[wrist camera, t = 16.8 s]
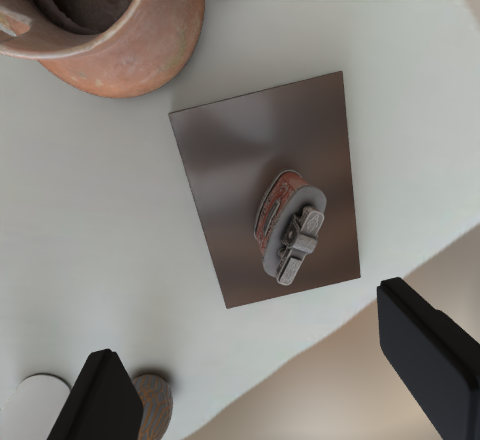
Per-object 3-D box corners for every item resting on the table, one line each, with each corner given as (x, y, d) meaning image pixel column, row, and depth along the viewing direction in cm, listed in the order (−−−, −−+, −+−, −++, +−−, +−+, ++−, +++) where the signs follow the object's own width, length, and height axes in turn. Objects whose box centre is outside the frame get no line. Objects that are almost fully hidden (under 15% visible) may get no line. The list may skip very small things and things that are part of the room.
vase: (186, 381, 39) (177, 453, 31) (155, 410, 40) (139, 486, 32) (144, 357, 37) (122, 427, 29) (113, 388, 38) (84, 463, 30)
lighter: (277, 163, 28) (306, 188, 19) (307, 175, 29) (350, 206, 19) (246, 234, 31) (258, 289, 21) (275, 244, 31) (299, 301, 22)
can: (24, 408, 39) (-56, 529, 27) (15, 371, 36) (-75, 487, 25) (75, 408, 39) (17, 526, 28) (69, 372, 37) (4, 485, 26)
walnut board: (170, 113, 27) (168, 113, 26) (337, 72, 27) (342, 70, 26) (226, 302, 35) (226, 309, 34) (356, 272, 35) (361, 277, 33)
